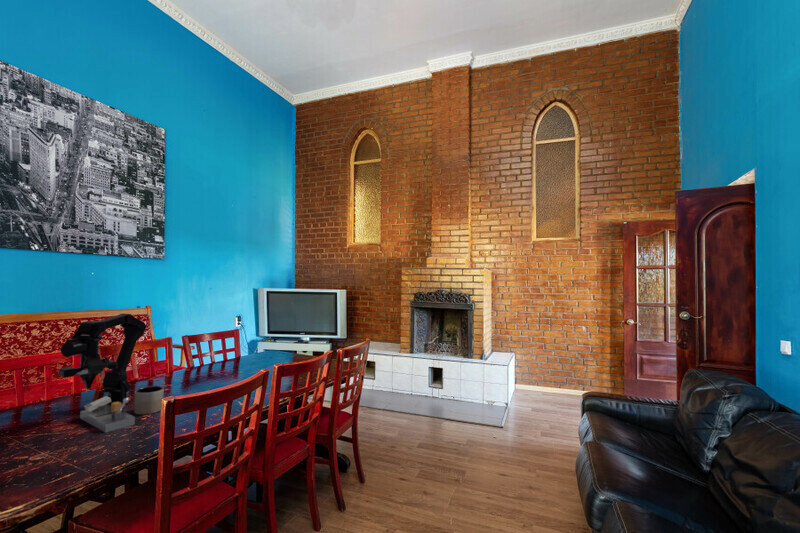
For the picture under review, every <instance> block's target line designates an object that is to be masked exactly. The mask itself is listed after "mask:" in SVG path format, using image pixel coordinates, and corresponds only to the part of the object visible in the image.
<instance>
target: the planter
mask: <svg viewBox="0 0 800 533" xmlns="http://www.w3.org/2000/svg"><path fill="white" fill-rule="evenodd" d="M164 388H165V387H163V386H160V385H153V386H152V385H149V386H144V387H140V388H137V389H136V390H135V391H134V404H133V412H134V414H136V415H140V416H143V415H144V416H146V415H152V413H153V414H156V412H157V413H158V412H161V411H162V410H161V400H162V399H163V400H164V391H165V390H164Z"/></svg>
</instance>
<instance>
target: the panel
mask: <svg viewBox="0 0 800 533" xmlns="http://www.w3.org/2000/svg"><path fill="white" fill-rule="evenodd" d="M79 412H80V415H79V420H82V421H84V422H86V423H88V424H89V425H91V426H93V427H94V428H96V429H99V430H100V431H101V432H104V433H108V432H113V431H116V430H120V429H124V428H126V427H131V426H134V425H135V424H136V422H135V421H136V417H135V416H134V415H133V414H132V415H131V414H130V413H127V412H126V411H123V410H121V412H120V413H118V414H115V416H114V413H116V412H117V411H115V412H111V406H110V405H106V404H105V405H103V406H99V407H98V408H97V409H95V410H92V411H90V412H89V411H87V410H85V409H84V410H81V411H79Z"/></svg>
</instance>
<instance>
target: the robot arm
mask: <svg viewBox="0 0 800 533" xmlns="http://www.w3.org/2000/svg"><path fill="white" fill-rule="evenodd" d="M118 326H120V327H122V328H123V336H124V339H123V342H122V346H121V347H120V350H119V353H118V355H117V358H116V360H115V361H114V360H111V359H110V358H109V357H105V358H101V354H100V353H99V343H100V342H99V341H101V340H103V339H104V337H103V336H101V335H102V334H103V333H105V331H106V330H108V329H111V328H114V327H118ZM146 330H147V324H146V323H145V322H144V321H142V320H141V319H139V318H138V317H135V316H134V315H133V314H131V313H120V314H118V315H114V316H111V317H107V318H104V319H100V320H88V321H82V322H81V323H80V325H79V326H78V327H77V329H76V330H75V332H74V334H73V335H72V337H71V338H68V339H65V342H64V343H63V344H62V346H61V348H60V354H61V355H62V356H63V357H65V358H70V357H74V356H78V355H79V356H78V357H80V363H79V364H78V366H79V367H76V368H75V367H73V366H66V367H61V368H60V369H59V370H58V371H57V372H58V374H57V376H59V377H60V378H71V377H74V376H79V377H80V379H81V380H82V383H83V384H84V386H85V388H86V389H87V390H90V389H91V388H92V385H93V383H94V381H95V379H96V378H97V376H98V375H99V374H101V373H102V372H103V371H104V369H105V368H106V369H108V370H110V371H106V372H105V373H104V377H103V379H102V381H103V382H102V386H103V390H104V393H107V395H106V396H107V397H110V398H111V401H112V402H110V403H107V404H105V406H106V405H110V406H111V403H114V402H120V403H121V405H122V403H123V399H124V398H127V393H128V392H129V391H131V388H132V385H131V384H130V383H129V382H128V374H127V369H128V366H129V362H130V360H131V358H132V355H133V352H134V349H135V347H136V344H137V341H138V340H139V339H140V338H141V337H143V336H144V334H145V331H146ZM127 405H129V402H127V403H126V404H125V405H124V406H127Z"/></svg>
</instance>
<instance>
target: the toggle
mask: <svg viewBox="0 0 800 533" xmlns="http://www.w3.org/2000/svg"><path fill="white" fill-rule="evenodd" d="M129 401H130V398H128V397H126V398H124V399H123V403H122V405H121V407H120V408H119V410H118V411H117V412H116V413H114V416H115V414H118V413H120V412H121V411H123V408H124V407H125V406H126V405H127V404H126V403H129ZM125 404H126V405H125Z"/></svg>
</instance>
